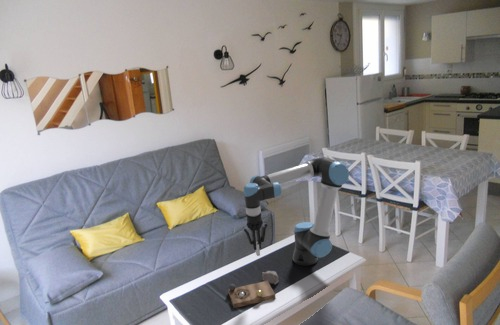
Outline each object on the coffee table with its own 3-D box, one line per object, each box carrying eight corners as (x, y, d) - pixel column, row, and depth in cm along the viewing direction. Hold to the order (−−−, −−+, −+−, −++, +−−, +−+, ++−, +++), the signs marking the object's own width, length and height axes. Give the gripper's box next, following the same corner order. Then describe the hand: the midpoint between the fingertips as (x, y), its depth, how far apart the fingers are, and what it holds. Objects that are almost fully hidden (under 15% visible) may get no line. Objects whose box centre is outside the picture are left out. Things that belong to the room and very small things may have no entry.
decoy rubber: (235, 287, 204) (234, 281, 203) (236, 291, 200) (235, 285, 199) (228, 289, 203) (228, 283, 202) (230, 292, 199) (229, 287, 198)
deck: (267, 284, 208) (267, 280, 207) (275, 298, 196) (275, 294, 195) (228, 293, 203) (228, 289, 202) (233, 308, 191) (233, 303, 190)
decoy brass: (261, 293, 197) (261, 287, 196) (263, 297, 193) (263, 291, 192) (255, 295, 196) (254, 289, 195) (257, 299, 193) (256, 293, 192)
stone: (283, 280, 211) (282, 271, 209) (273, 287, 206) (273, 277, 204) (270, 274, 218) (269, 265, 216) (260, 280, 212) (259, 271, 211)
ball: (245, 290, 200) (239, 290, 198) (247, 295, 196) (240, 294, 195) (243, 296, 200) (237, 295, 199) (244, 300, 197) (238, 299, 196)
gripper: (263, 208, 198) (267, 248, 204) (239, 213, 194) (244, 254, 201) (268, 213, 191) (272, 255, 197) (243, 219, 187) (248, 260, 194)
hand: (258, 254), depth 199 cm, fingers closed
